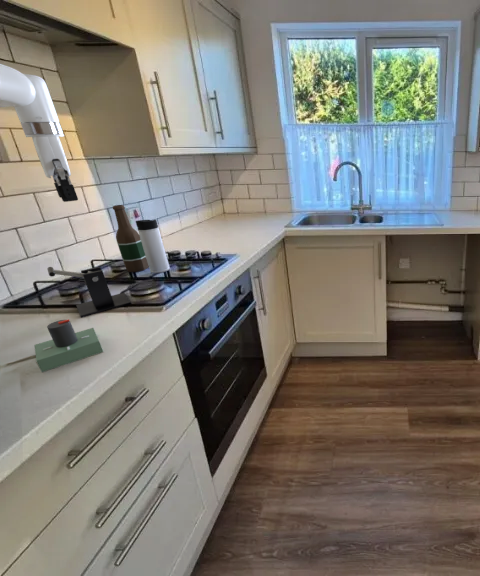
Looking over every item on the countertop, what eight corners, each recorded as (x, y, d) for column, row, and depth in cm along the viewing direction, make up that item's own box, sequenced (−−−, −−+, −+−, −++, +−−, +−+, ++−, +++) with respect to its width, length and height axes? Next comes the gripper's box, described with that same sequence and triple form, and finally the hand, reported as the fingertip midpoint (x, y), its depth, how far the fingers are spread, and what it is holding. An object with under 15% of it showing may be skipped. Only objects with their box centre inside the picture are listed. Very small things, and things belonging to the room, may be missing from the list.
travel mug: (146, 275, 131) (129, 221, 123) (159, 269, 137) (144, 216, 129) (162, 276, 130) (146, 221, 122) (174, 269, 136) (159, 216, 128)
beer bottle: (154, 266, 139) (135, 204, 129) (134, 273, 133) (113, 208, 123) (141, 264, 142) (122, 203, 133) (121, 271, 136) (99, 206, 126)
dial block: (41, 372, 78) (35, 360, 77) (39, 355, 84) (34, 344, 83) (103, 351, 85) (98, 340, 83) (97, 337, 91) (93, 326, 89)
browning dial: (56, 349, 80) (46, 328, 78) (54, 342, 83) (45, 322, 81) (78, 342, 83) (70, 322, 81) (76, 336, 86) (68, 316, 84)
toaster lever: (48, 278, 94) (49, 269, 93) (46, 272, 98) (48, 264, 97) (100, 284, 102) (102, 275, 101) (97, 278, 106) (99, 270, 106)
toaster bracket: (82, 320, 99) (66, 281, 95) (77, 309, 106) (62, 271, 101) (132, 306, 107) (120, 269, 102) (125, 296, 114) (113, 261, 109)
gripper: (22, 131, 95) (48, 197, 102) (24, 130, 83) (53, 204, 90) (59, 130, 100) (81, 194, 107) (65, 129, 88) (90, 200, 95)
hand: (68, 198), depth 98 cm, fingers open, 9 cm apart
